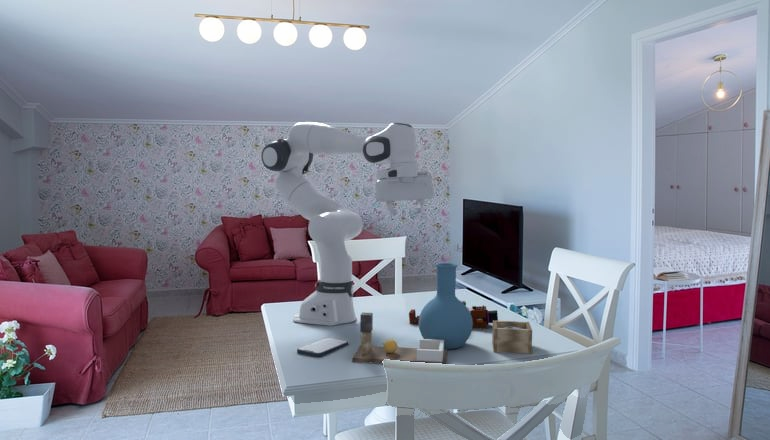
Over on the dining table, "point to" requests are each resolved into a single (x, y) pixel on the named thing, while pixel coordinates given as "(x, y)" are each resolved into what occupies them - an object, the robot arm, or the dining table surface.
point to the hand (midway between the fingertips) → (406, 214)
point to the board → (391, 355)
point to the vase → (446, 312)
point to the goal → (430, 350)
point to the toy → (478, 315)
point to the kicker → (366, 332)
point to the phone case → (322, 347)
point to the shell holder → (512, 337)
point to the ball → (390, 346)
